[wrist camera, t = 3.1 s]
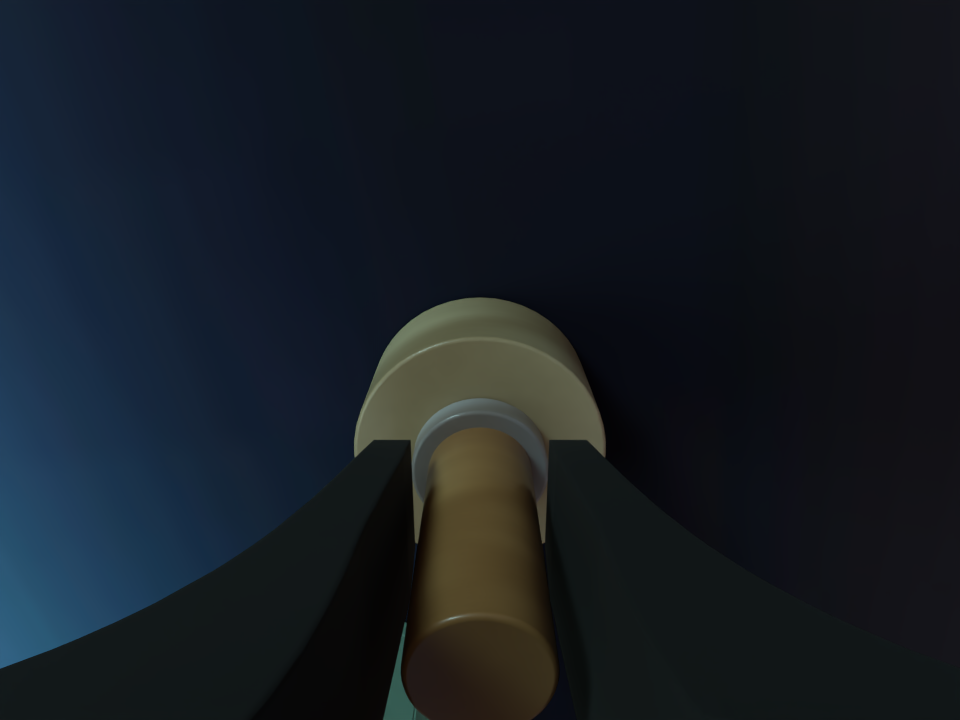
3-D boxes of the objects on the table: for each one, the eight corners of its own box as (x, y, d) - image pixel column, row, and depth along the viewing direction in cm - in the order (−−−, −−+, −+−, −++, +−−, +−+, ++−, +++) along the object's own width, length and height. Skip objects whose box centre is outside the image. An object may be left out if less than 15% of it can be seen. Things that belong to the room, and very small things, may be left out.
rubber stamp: (592, 296, 14) (710, 503, 7) (580, 490, 15) (664, 818, 8) (367, 296, 14) (248, 504, 7) (379, 490, 15) (295, 818, 8)
